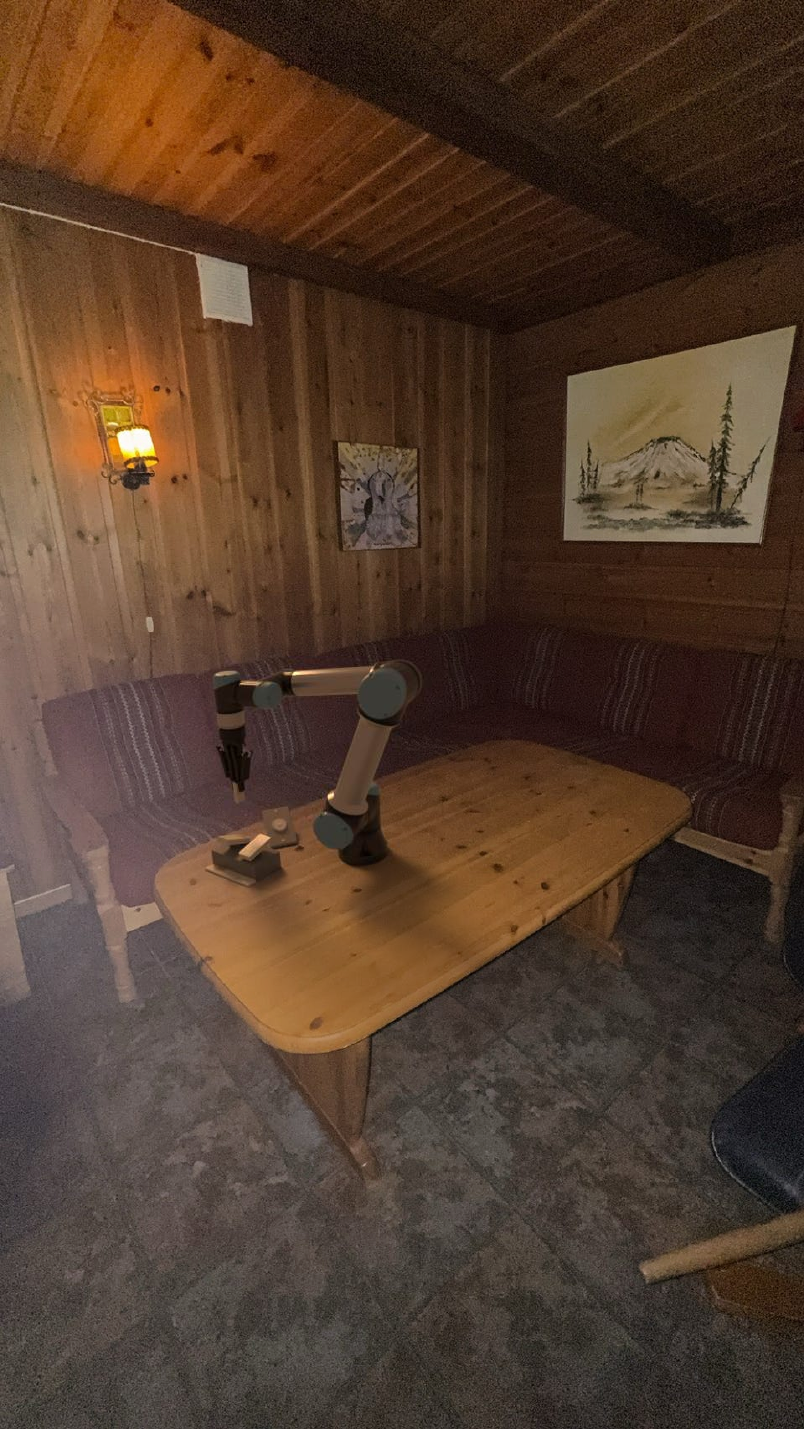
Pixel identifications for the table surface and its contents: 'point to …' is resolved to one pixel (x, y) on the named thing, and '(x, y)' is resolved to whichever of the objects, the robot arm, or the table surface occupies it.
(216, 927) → the table surface
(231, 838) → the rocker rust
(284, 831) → the light switch
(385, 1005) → the table surface
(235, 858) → the console
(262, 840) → the rocker sage
